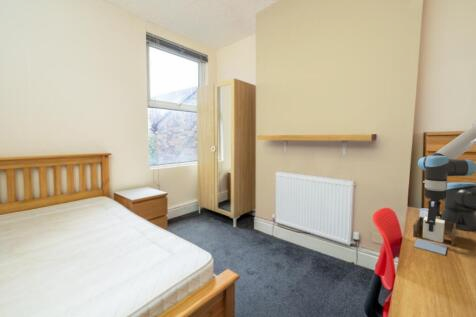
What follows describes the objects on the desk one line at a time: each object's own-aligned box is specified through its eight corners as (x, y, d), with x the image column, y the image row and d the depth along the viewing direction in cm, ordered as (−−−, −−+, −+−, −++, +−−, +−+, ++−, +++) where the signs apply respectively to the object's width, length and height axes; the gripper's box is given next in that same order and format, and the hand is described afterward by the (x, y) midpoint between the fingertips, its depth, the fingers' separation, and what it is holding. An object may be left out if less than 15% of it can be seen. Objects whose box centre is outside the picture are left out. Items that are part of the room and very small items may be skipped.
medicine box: (438, 229, 109) (439, 213, 108) (428, 229, 110) (429, 212, 109) (428, 223, 117) (428, 208, 116) (418, 223, 118) (419, 207, 117)
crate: (418, 227, 112) (418, 216, 111) (455, 235, 102) (455, 223, 101) (413, 236, 102) (413, 224, 102) (453, 246, 92) (453, 233, 92)
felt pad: (417, 239, 99) (417, 238, 99) (447, 246, 92) (447, 245, 92) (413, 246, 93) (413, 245, 93) (445, 255, 85) (445, 254, 85)
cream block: (424, 234, 104) (424, 216, 103) (444, 239, 99) (444, 220, 98) (422, 237, 101) (423, 219, 100) (442, 242, 96) (443, 223, 95)
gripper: (428, 183, 109) (426, 223, 111) (419, 192, 92) (417, 239, 94) (448, 185, 103) (446, 227, 105) (443, 195, 87) (440, 245, 89)
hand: (432, 233), depth 100 cm, fingers open, 13 cm apart
